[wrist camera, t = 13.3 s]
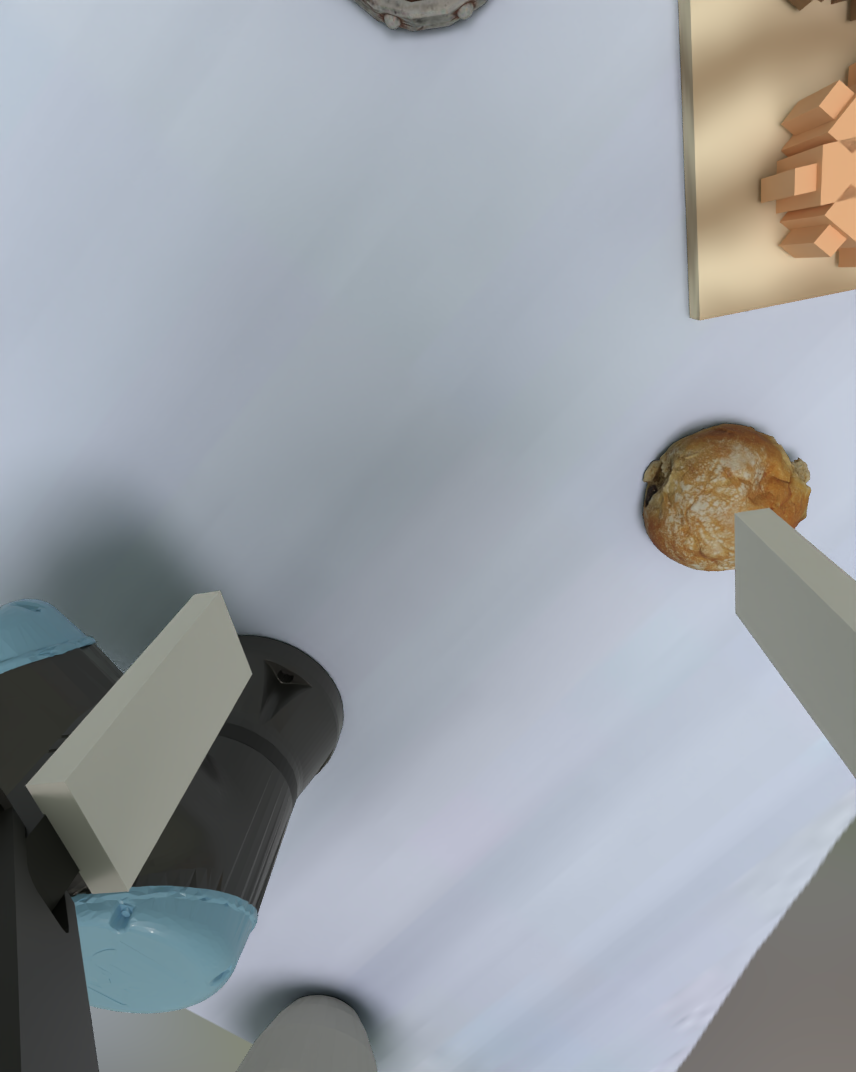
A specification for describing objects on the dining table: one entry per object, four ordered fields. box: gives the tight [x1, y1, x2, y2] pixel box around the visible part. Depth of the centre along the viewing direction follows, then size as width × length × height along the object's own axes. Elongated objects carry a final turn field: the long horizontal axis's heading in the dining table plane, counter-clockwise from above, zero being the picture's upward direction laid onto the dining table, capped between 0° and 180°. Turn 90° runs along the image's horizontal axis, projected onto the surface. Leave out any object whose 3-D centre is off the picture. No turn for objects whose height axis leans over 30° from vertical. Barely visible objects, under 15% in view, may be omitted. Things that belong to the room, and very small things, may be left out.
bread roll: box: [643, 424, 811, 571], centre depth 41 cm, size 10×10×8 cm
